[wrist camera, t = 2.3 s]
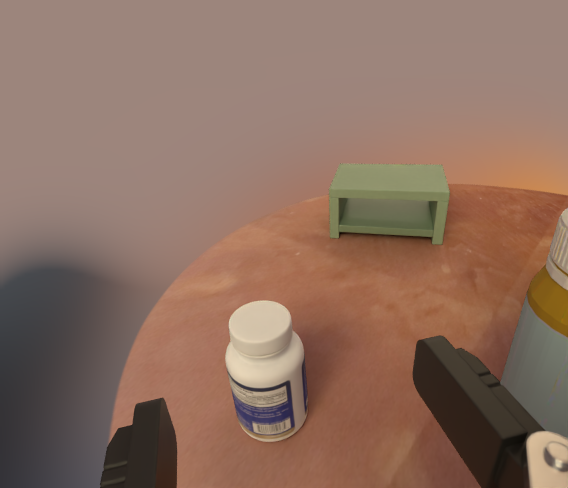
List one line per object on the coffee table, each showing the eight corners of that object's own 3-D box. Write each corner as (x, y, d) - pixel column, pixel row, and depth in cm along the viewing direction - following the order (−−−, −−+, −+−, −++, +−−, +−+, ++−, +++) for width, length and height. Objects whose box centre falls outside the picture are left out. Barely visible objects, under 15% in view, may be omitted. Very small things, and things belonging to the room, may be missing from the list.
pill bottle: (265, 373, 32) (253, 285, 27) (320, 400, 29) (317, 308, 25) (222, 422, 28) (200, 330, 23) (281, 459, 25) (269, 362, 21)
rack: (436, 211, 56) (442, 164, 52) (442, 245, 47) (450, 192, 44) (339, 207, 59) (339, 163, 56) (329, 238, 51) (329, 188, 47)
